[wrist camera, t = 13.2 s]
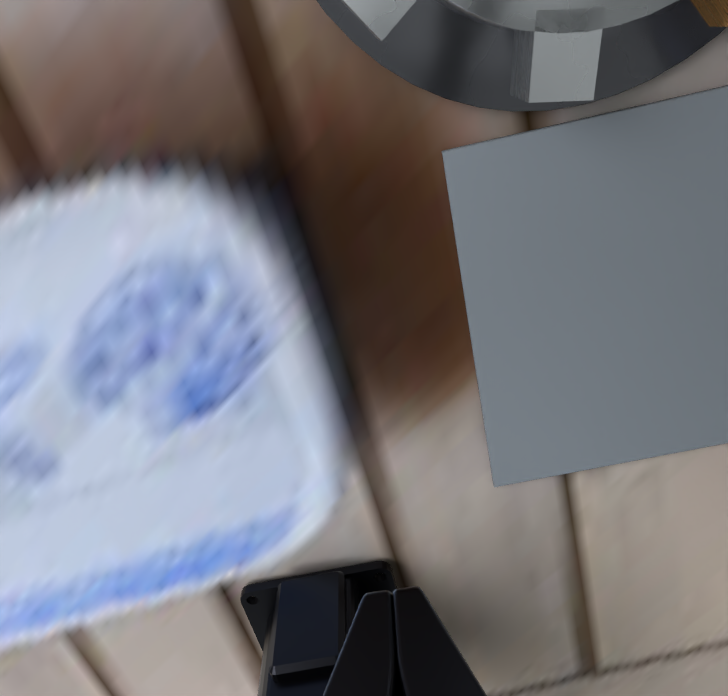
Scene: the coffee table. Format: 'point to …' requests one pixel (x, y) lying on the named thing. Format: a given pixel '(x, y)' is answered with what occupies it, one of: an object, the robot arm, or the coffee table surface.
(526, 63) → the sprocket
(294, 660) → the robot arm
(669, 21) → the sprocket base
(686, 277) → the slate mat
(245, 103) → the coffee table surface
